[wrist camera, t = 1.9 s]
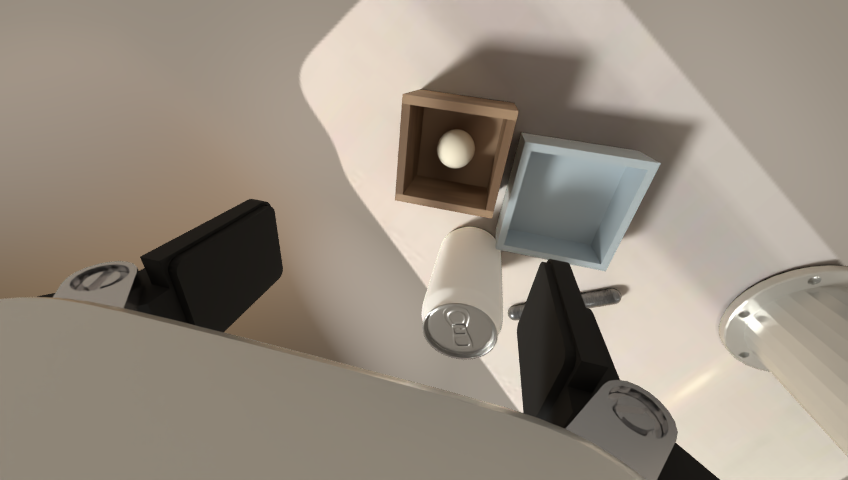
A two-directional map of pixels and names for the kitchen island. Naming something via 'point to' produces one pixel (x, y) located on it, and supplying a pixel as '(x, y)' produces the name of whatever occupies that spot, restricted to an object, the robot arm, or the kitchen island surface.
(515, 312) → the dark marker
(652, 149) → the kitchen island surface
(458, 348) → the can
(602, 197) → the light blue tray
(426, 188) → the walnut box
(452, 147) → the cream ball
